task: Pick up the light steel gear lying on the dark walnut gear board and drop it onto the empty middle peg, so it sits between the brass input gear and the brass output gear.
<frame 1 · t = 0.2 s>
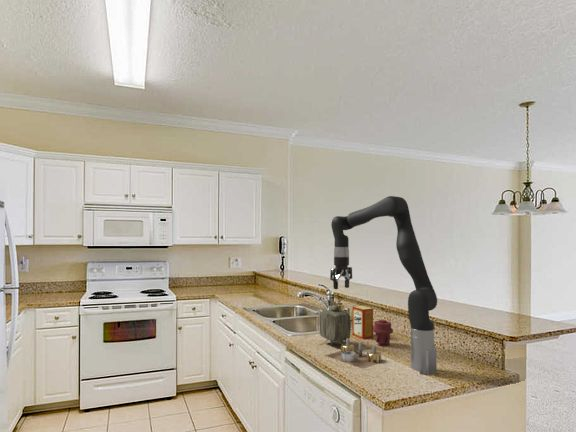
hand: (341, 288, 196), 29 cm above the worktop, tool pointing down, fingers open, 8 cm apart
gear board: (354, 360, 174), on the worktop
mechanical component: (382, 345, 198), on the worktop
input gear: (347, 352, 182), resting on gear board
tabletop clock: (333, 347, 194), on the worktop
baking soda box: (362, 336, 214), on the worktop
steel gear: (348, 359, 171), point 1 cm above the worktop, touching gear board
output gear: (374, 360, 170), resting on gear board
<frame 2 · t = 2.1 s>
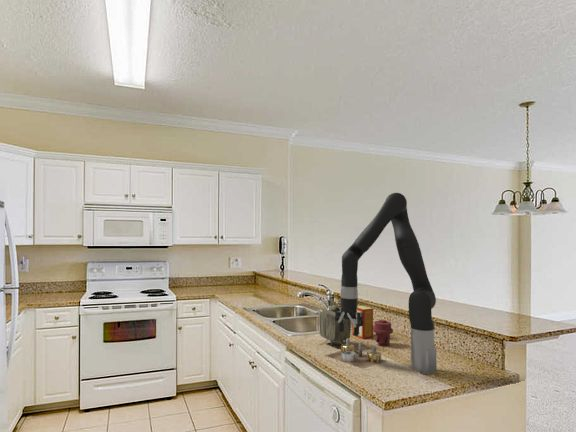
hand: (348, 333, 172), 12 cm above the worktop, tool pointing down, fingers open, 8 cm apart
nothing on the worktop moved.
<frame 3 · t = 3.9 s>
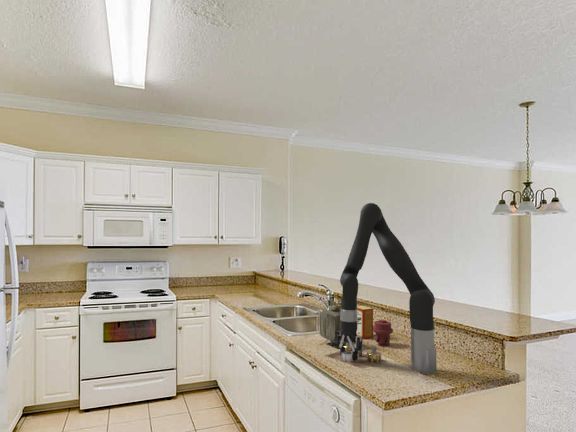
hand: (348, 357, 171), 2 cm above the worktop, tool pointing down, fingers closed on steel gear, 6 cm apart
steel gear: (348, 359, 171), point 1 cm above the worktop, touching gear board, gripper
everything else where it was.
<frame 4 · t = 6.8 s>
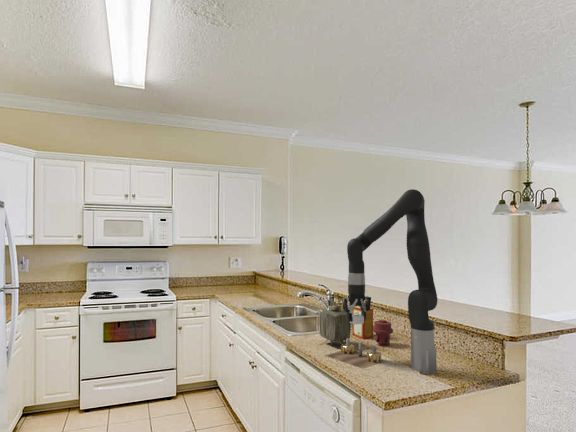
hand: (356, 320, 174), 17 cm above the worktop, tool pointing down, fingers closed on steel gear, 6 cm apart
steel gear: (356, 322, 174), point 17 cm above the worktop, touching gripper
everything else where it was.
when the fingers open (5 cm above the worktop, at t = 9.7 s): steel gear drops 3 cm, resting on gear board.
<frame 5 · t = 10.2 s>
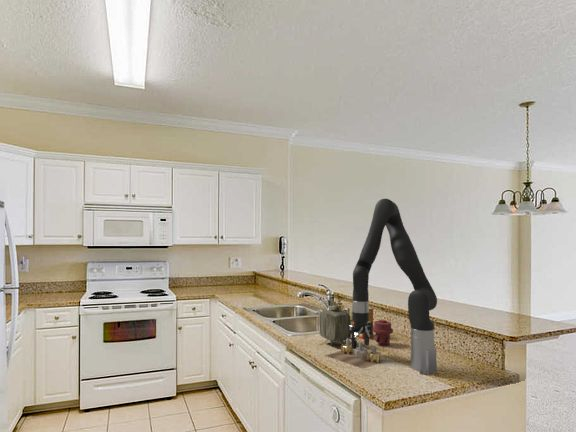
hand: (360, 346, 176), 5 cm above the worktop, tool pointing down, fingers open, 8 cm apart
steel gear: (360, 356, 176), point 1 cm above the worktop, touching gear board
everything else where it was.
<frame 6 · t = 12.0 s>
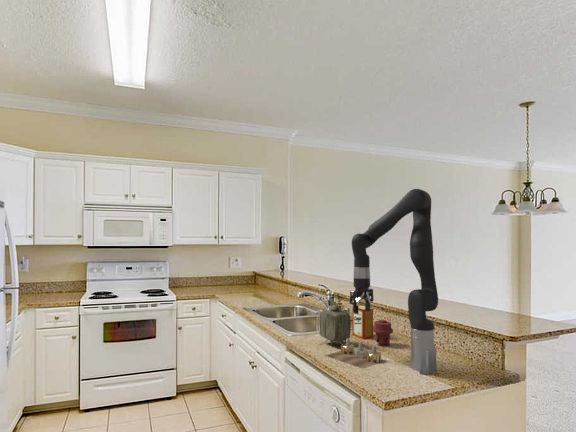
hand: (361, 312, 179), 20 cm above the worktop, tool pointing down, fingers open, 8 cm apart
nothing on the worktop moved.
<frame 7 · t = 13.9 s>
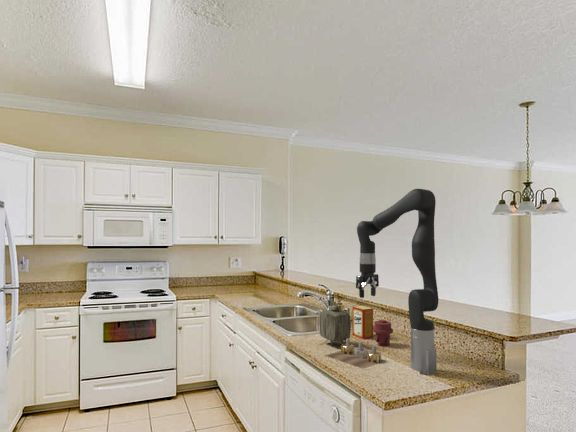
hand: (367, 296, 187), 26 cm above the worktop, tool pointing down, fingers open, 8 cm apart
nothing on the worktop moved.
at the end: steel gear 0.1 cm from the target spot on the gear board, point 1.0 cm above the gear board's base; steel gear tilted 0°; the gripper is holding nothing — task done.
